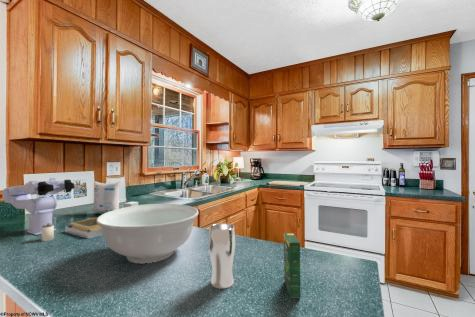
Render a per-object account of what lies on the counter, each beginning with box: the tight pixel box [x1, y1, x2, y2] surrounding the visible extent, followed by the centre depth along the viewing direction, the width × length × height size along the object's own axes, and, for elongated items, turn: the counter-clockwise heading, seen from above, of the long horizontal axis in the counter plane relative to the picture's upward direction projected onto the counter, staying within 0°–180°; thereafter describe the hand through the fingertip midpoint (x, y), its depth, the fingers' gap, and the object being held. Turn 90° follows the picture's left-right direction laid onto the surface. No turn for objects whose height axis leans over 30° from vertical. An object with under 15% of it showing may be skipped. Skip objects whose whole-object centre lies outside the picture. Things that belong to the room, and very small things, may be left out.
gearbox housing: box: [64, 216, 103, 239], centre depth 110 cm, size 18×15×4 cm
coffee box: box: [283, 232, 301, 299], centre depth 60 cm, size 8×3×13 cm, turn 178°
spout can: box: [41, 223, 55, 242], centre depth 99 cm, size 4×4×7 cm
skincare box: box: [122, 201, 139, 208], centre depth 116 cm, size 6×4×12 cm
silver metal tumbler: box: [208, 222, 236, 290], centre depth 63 cm, size 7×7×15 cm
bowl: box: [96, 203, 199, 265], centre depth 83 cm, size 32×32×15 cm
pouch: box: [92, 180, 121, 214], centre depth 142 cm, size 8×19×20 cm, turn 69°
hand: (63, 186), depth 100 cm, fingers open, 7 cm apart
